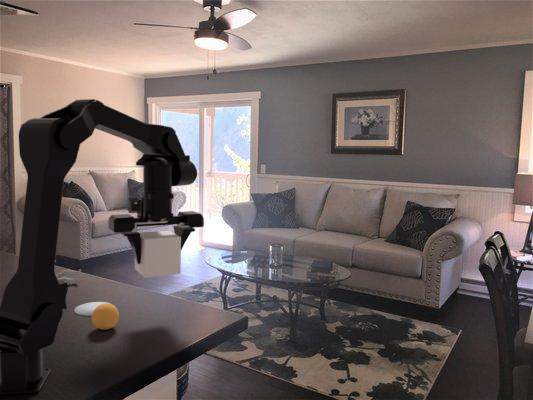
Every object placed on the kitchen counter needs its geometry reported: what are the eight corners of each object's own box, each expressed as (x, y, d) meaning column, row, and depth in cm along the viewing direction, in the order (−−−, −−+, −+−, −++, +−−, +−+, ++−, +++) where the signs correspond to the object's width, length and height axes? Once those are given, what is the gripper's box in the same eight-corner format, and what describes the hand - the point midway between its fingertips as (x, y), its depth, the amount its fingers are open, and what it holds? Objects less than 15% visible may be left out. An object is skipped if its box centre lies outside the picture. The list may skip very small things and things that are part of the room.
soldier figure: (77, 288, 110) (25, 279, 105) (73, 298, 112) (21, 290, 107) (82, 263, 115) (33, 254, 110) (78, 274, 118) (29, 265, 113)
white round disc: (110, 314, 93) (110, 313, 93) (70, 316, 91) (70, 315, 91) (115, 302, 100) (115, 301, 100) (78, 303, 99) (78, 302, 99)
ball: (117, 333, 84) (116, 308, 83) (89, 334, 83) (89, 309, 82) (120, 323, 88) (120, 299, 88) (94, 324, 87) (94, 300, 87)
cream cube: (180, 273, 91) (180, 236, 90) (144, 278, 87) (144, 239, 86) (168, 265, 97) (168, 230, 96) (134, 268, 93) (134, 232, 92)
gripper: (186, 184, 102) (185, 249, 103) (102, 185, 92) (103, 257, 94) (205, 188, 92) (204, 260, 94) (114, 190, 82) (114, 270, 84)
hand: (157, 261), depth 92 cm, fingers closed on cream cube, 7 cm apart
